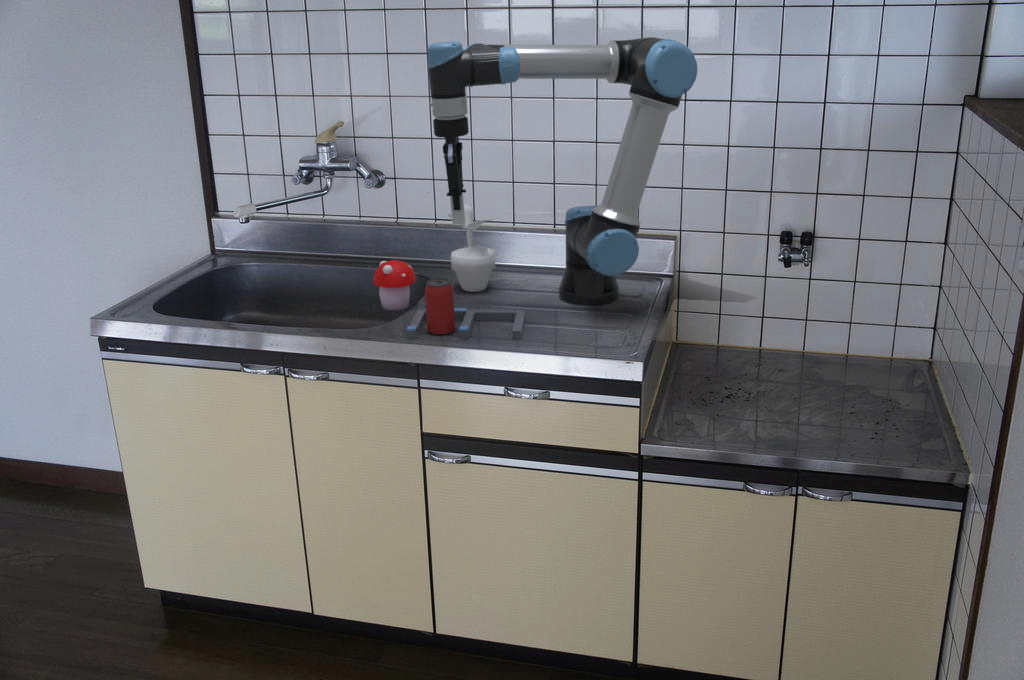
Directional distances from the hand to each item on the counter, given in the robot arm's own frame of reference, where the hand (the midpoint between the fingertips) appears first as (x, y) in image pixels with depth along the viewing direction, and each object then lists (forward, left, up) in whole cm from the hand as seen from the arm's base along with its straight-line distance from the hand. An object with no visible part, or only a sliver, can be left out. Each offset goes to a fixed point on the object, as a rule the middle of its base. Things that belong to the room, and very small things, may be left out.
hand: (458, 223), depth 218 cm
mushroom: (+19, -16, -25) cm, 35 cm away
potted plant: (+1, -29, -25) cm, 39 cm away
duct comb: (-1, 0, -25) cm, 25 cm away
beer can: (+5, +2, -25) cm, 26 cm away
